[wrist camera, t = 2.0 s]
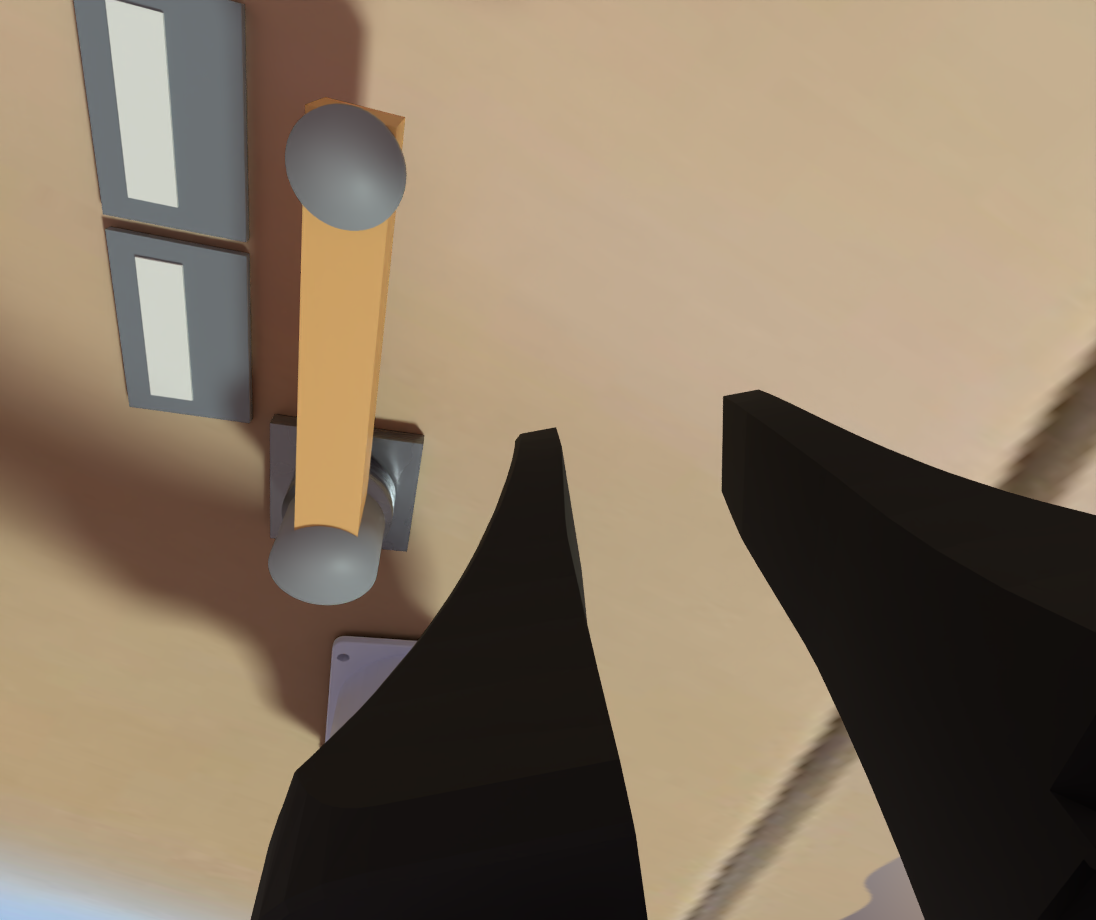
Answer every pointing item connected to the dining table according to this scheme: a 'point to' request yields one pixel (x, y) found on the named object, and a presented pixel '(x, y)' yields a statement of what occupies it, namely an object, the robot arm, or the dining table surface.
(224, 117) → the label
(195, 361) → the label
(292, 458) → the square flange plate
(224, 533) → the dining table surface
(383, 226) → the swing arm
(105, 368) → the dining table surface
